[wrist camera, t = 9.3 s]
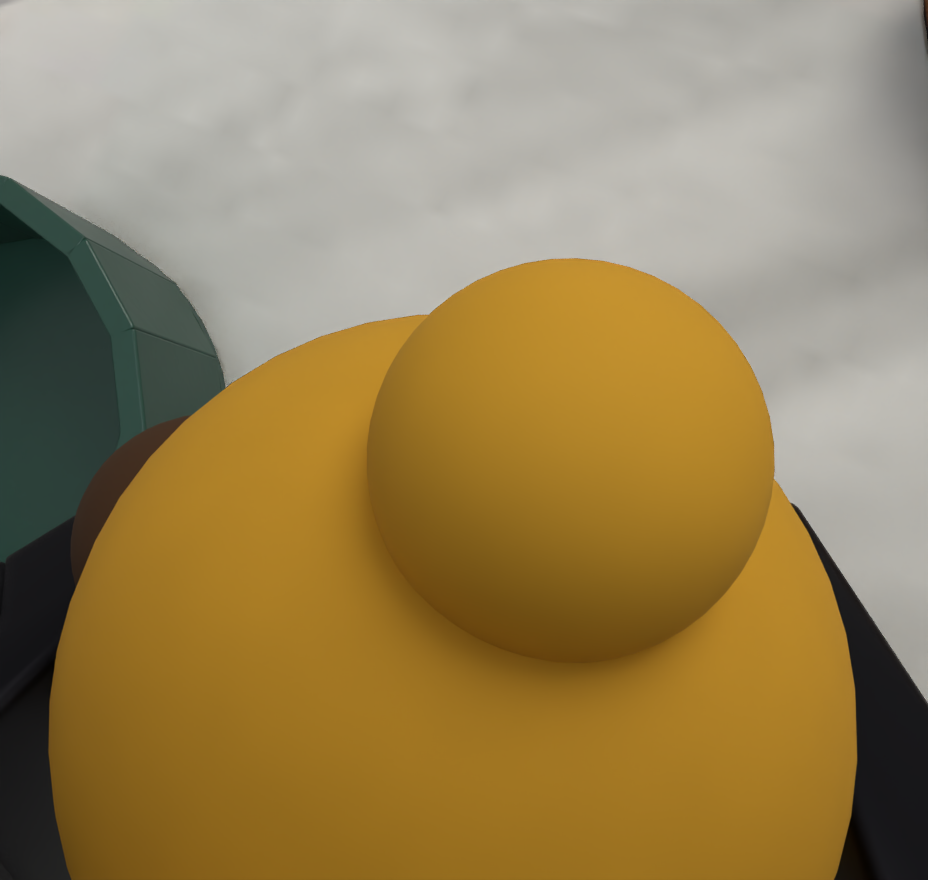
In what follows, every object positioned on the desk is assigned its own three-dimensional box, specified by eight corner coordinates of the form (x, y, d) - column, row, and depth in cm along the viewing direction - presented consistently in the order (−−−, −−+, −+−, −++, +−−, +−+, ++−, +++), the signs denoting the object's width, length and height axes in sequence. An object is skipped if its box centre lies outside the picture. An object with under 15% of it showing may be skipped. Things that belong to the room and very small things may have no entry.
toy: (697, 487, 16) (1539, 522, 2) (580, 730, 16) (758, 2132, 2) (443, 366, 16) (-35, -154, 3) (330, 600, 16) (-660, 1133, 3)
